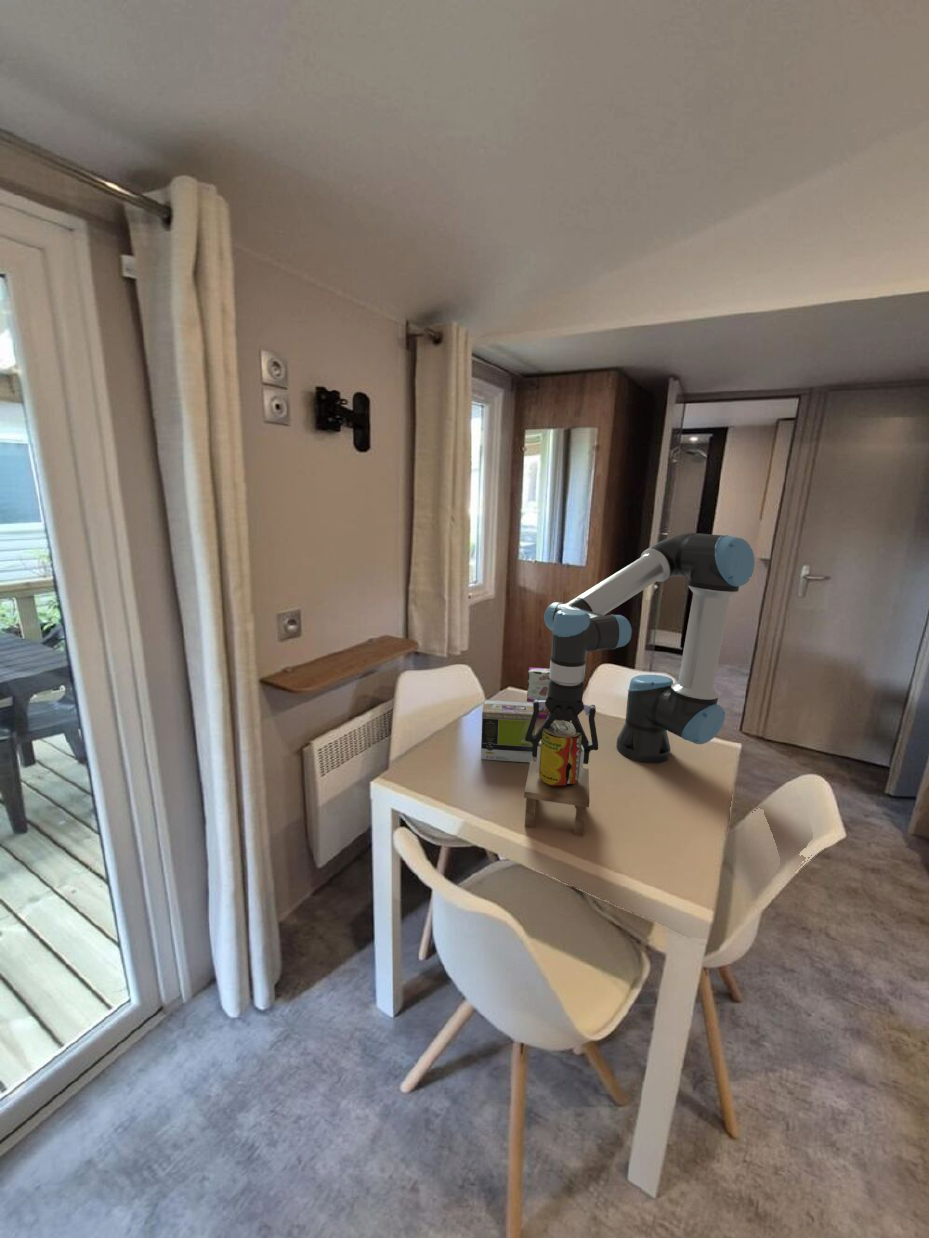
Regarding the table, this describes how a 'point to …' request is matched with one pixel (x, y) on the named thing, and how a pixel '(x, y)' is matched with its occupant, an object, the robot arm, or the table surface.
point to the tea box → (506, 730)
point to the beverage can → (560, 754)
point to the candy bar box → (538, 687)
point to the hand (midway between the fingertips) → (558, 772)
